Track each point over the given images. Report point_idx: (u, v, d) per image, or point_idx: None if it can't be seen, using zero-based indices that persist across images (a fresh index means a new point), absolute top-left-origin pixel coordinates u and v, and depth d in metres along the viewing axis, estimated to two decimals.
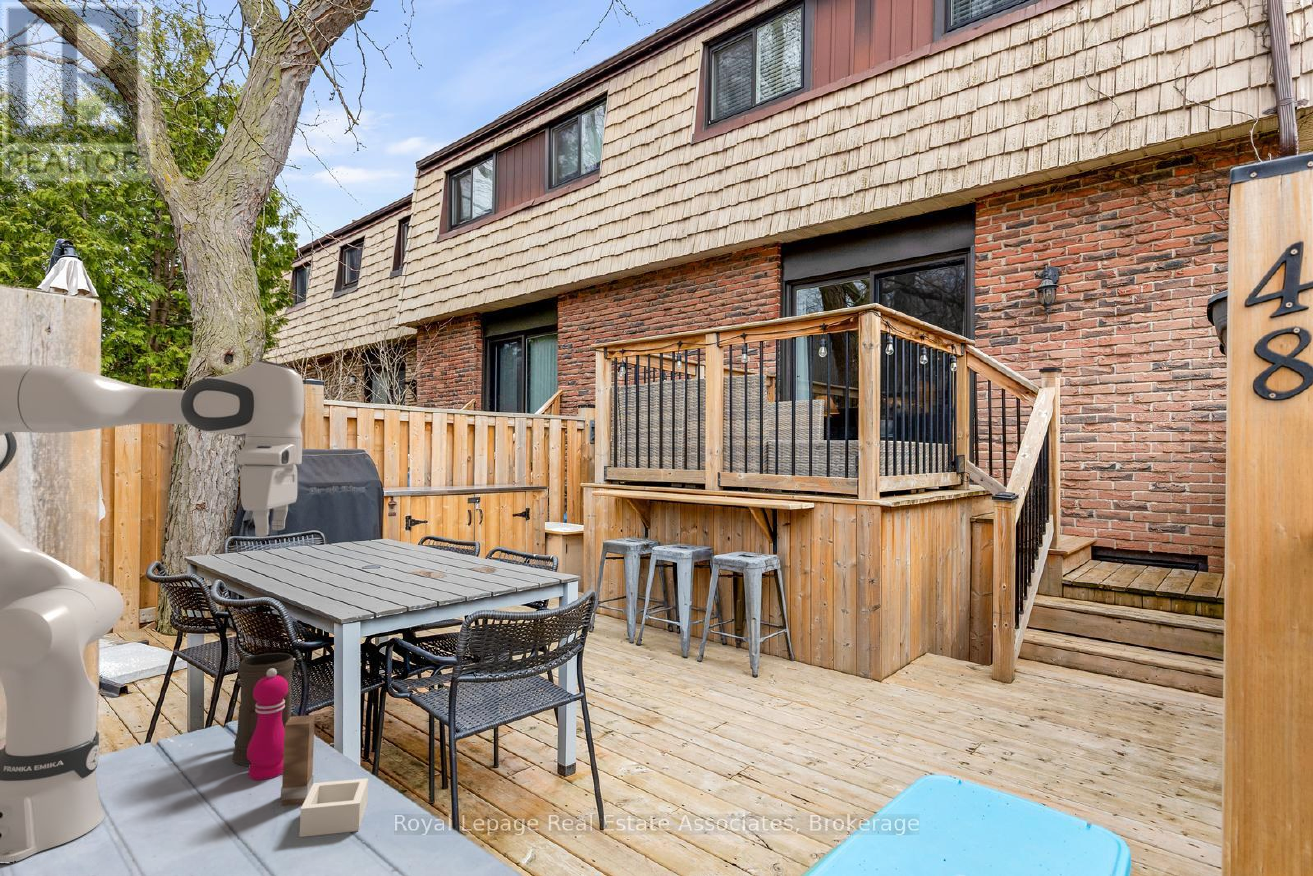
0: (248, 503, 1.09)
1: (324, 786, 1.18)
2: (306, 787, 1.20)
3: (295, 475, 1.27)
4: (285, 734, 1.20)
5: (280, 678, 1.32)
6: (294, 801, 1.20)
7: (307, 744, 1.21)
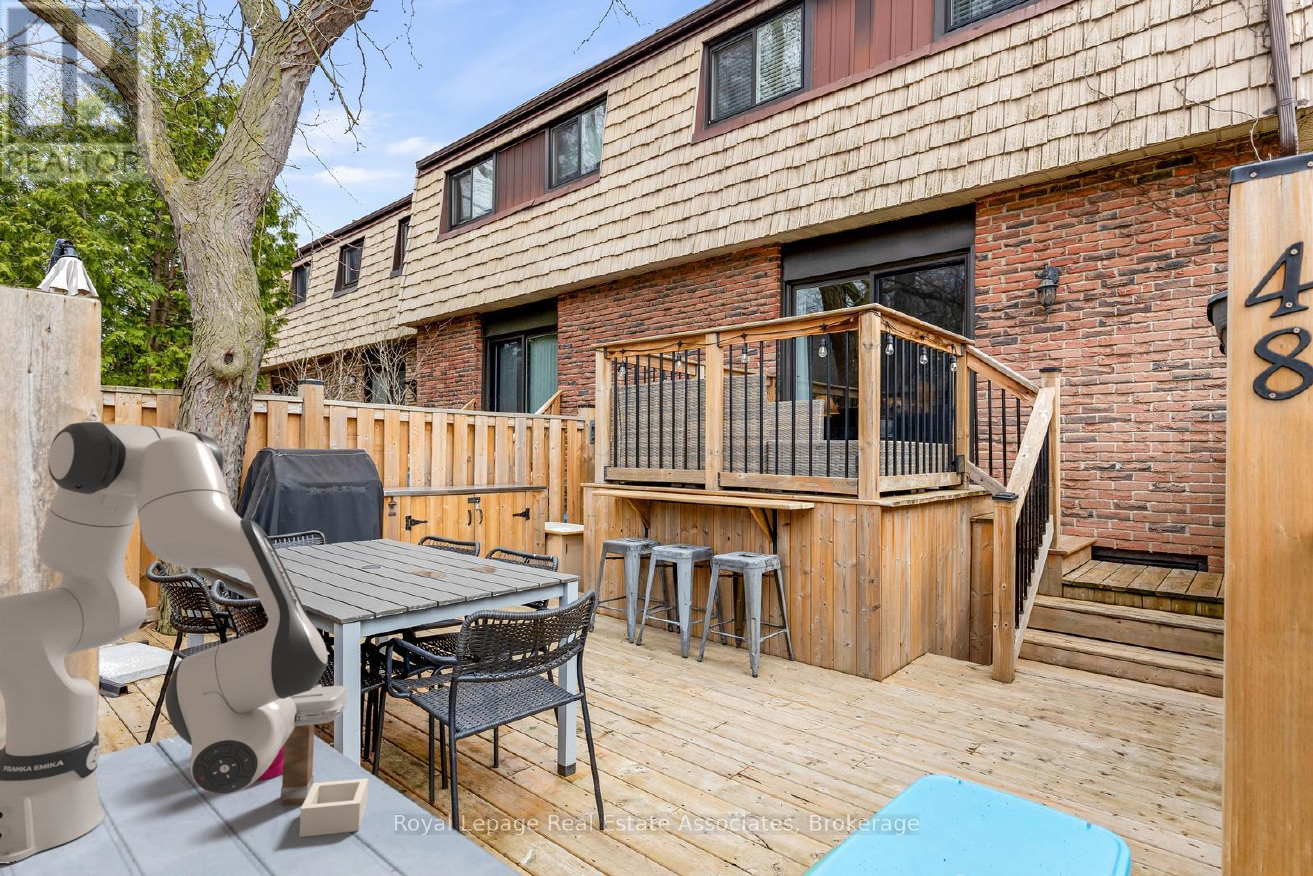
0: None
1: (324, 786, 1.18)
2: (306, 787, 1.20)
3: None
4: None
5: None
6: (294, 801, 1.20)
7: (307, 744, 1.21)
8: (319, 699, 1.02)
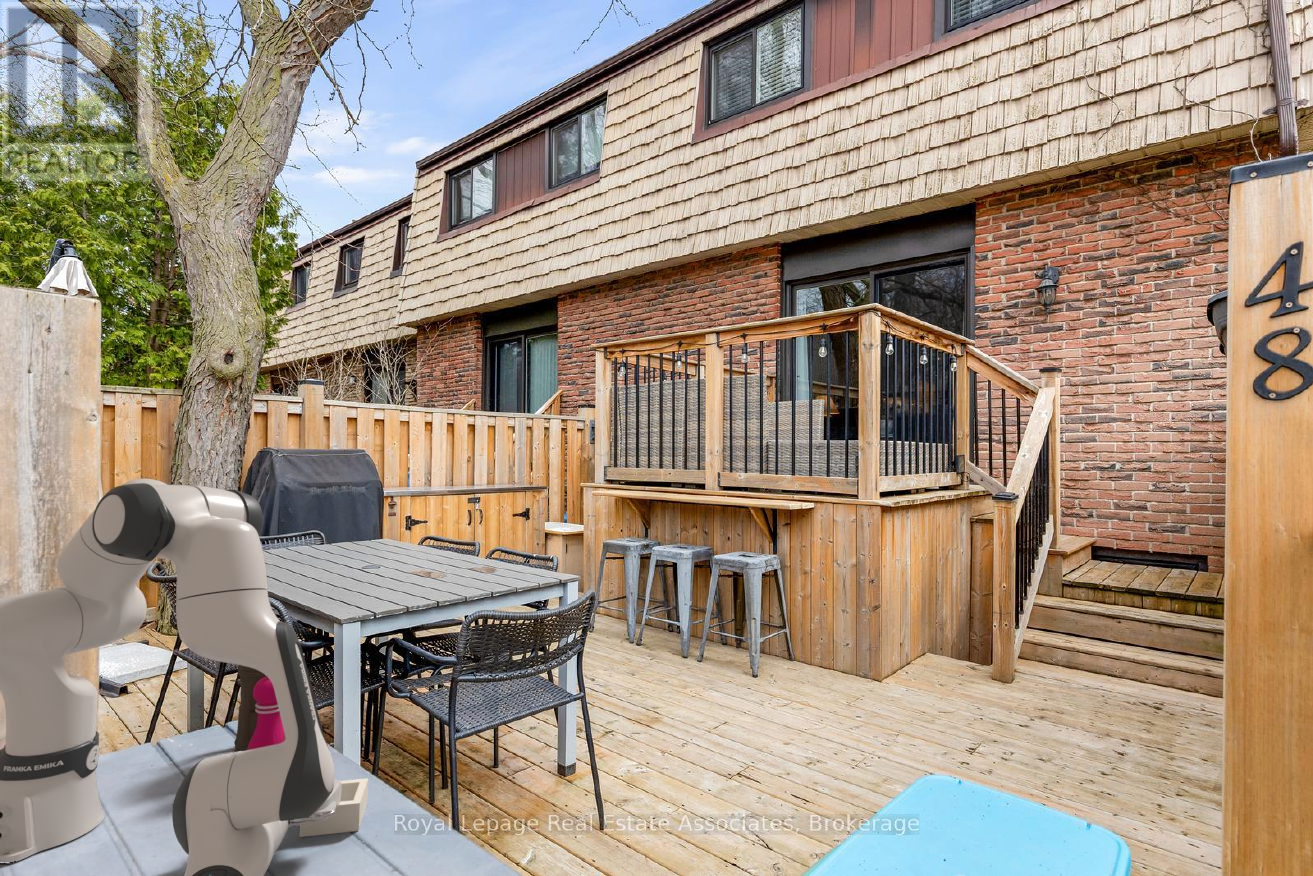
0: None
1: None
2: None
3: None
4: None
5: None
6: None
7: None
8: None
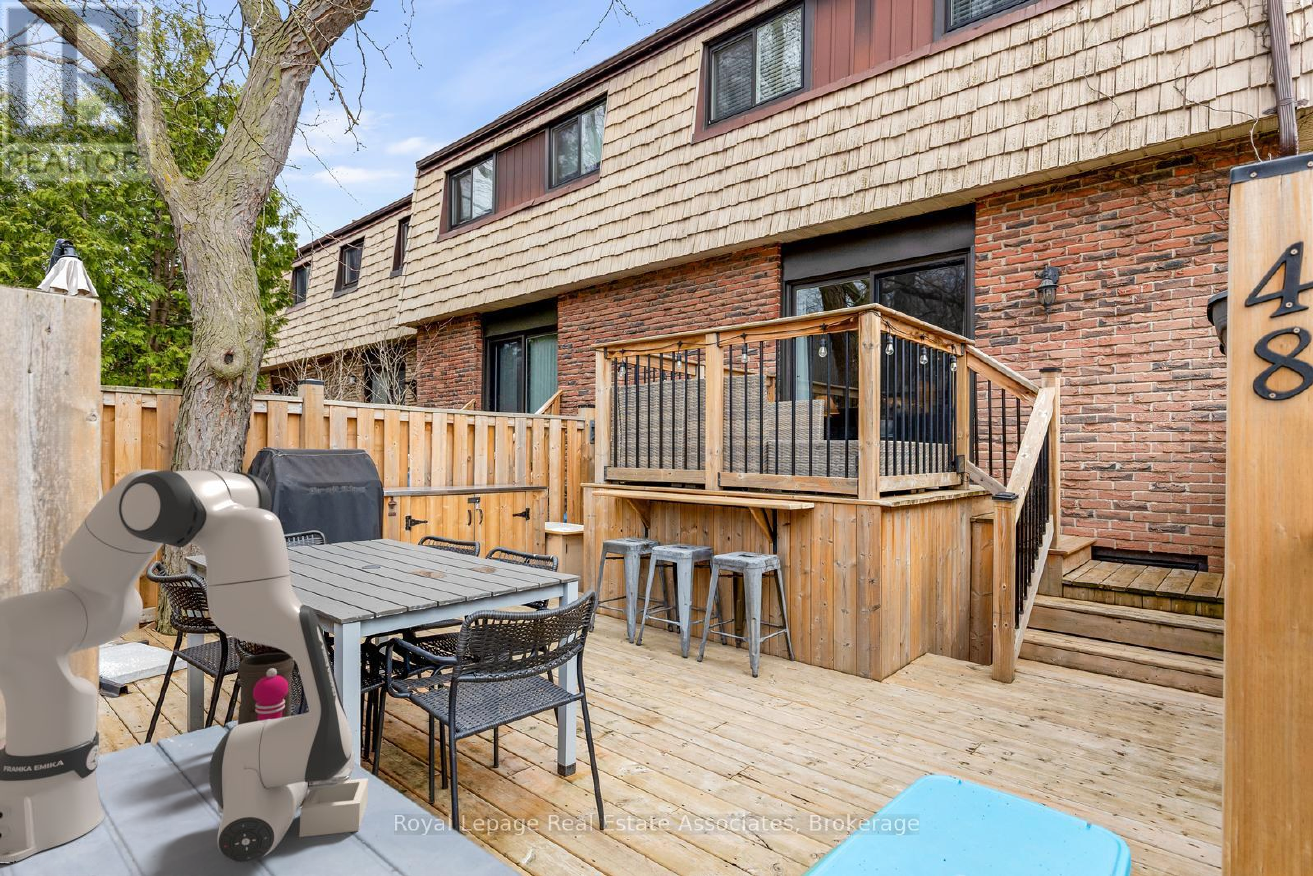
0: None
1: None
2: None
3: None
4: None
5: (280, 678, 1.32)
6: None
7: None
8: None
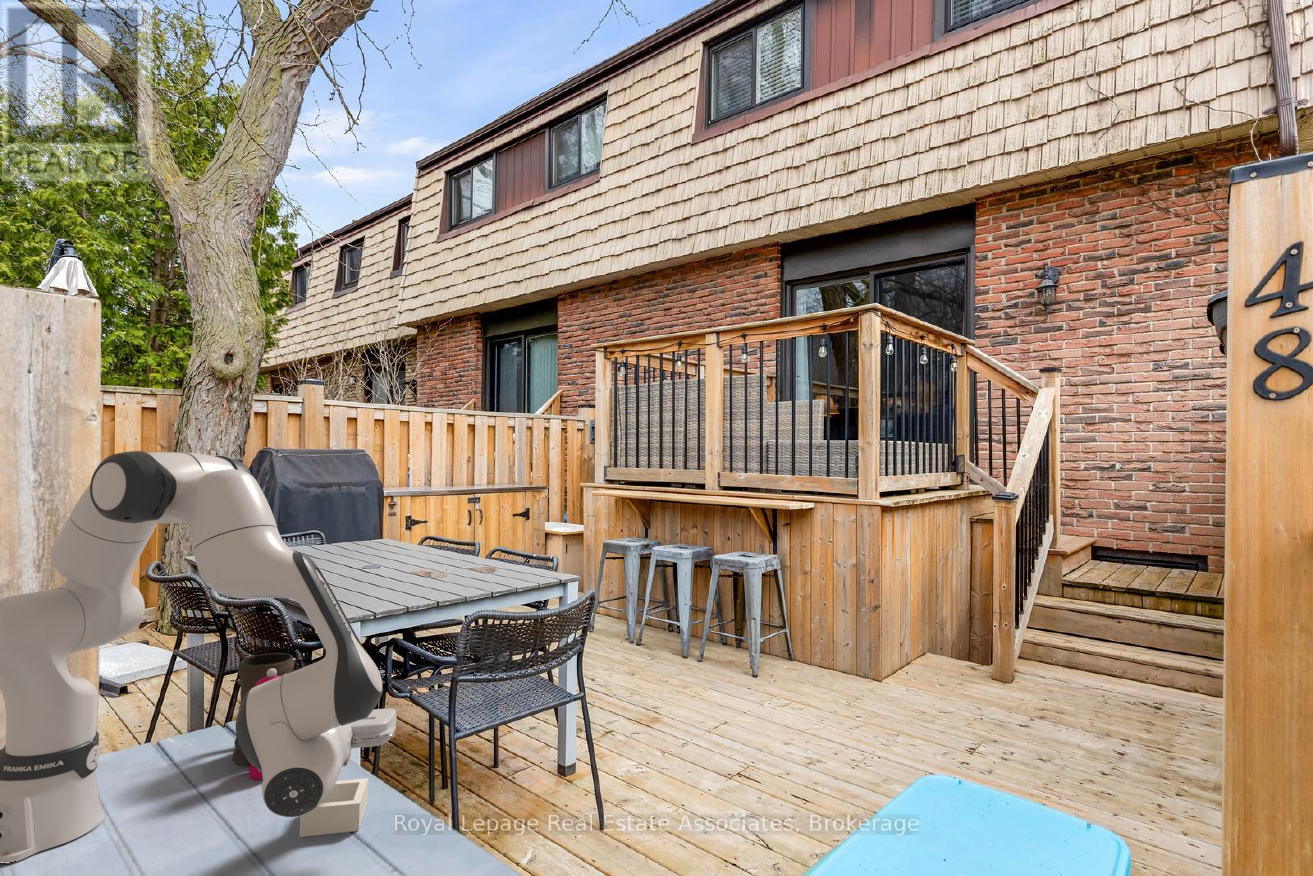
0: None
1: None
2: None
3: None
4: None
5: None
6: None
7: None
8: (372, 723, 1.08)
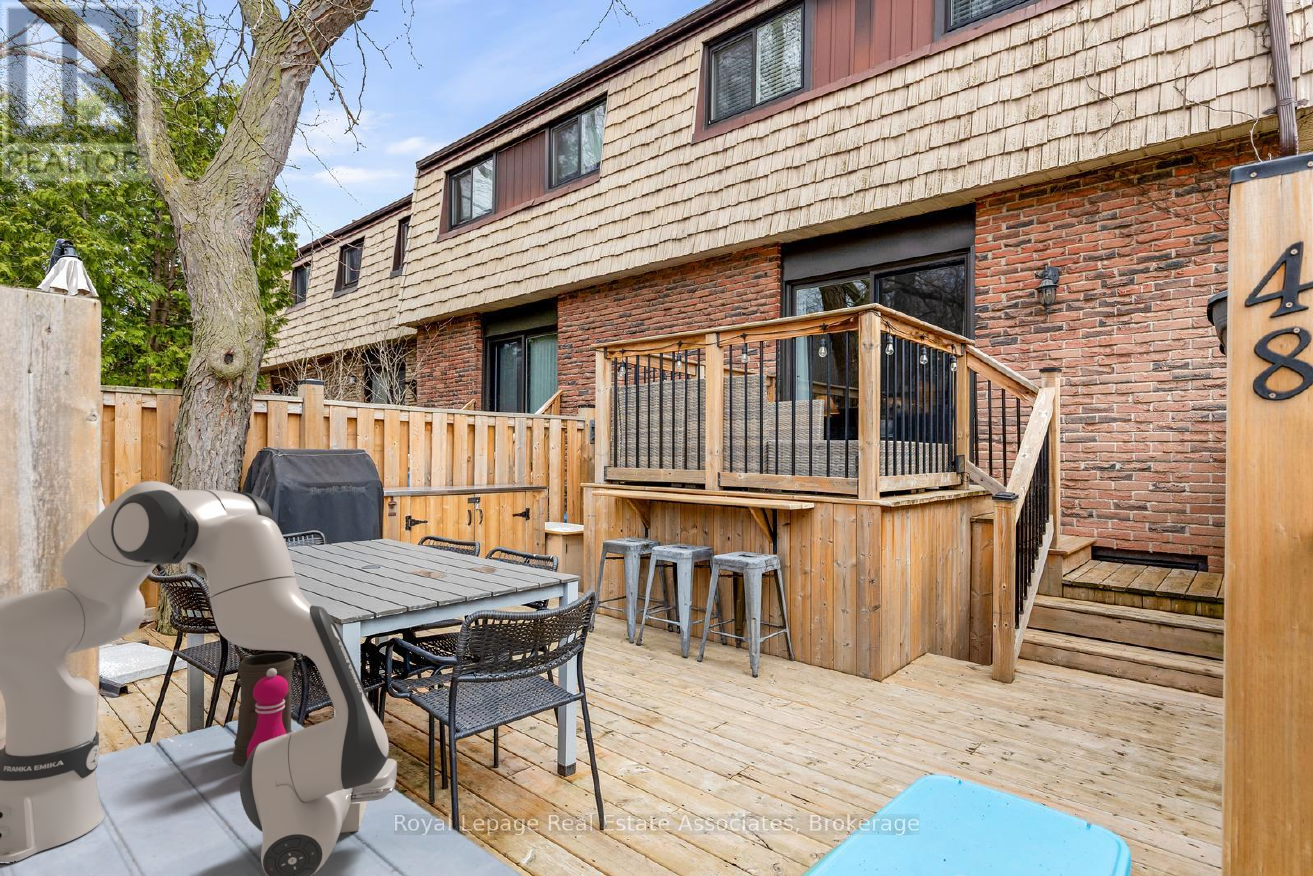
0: None
1: None
2: None
3: None
4: None
5: (280, 678, 1.32)
6: None
7: None
8: None
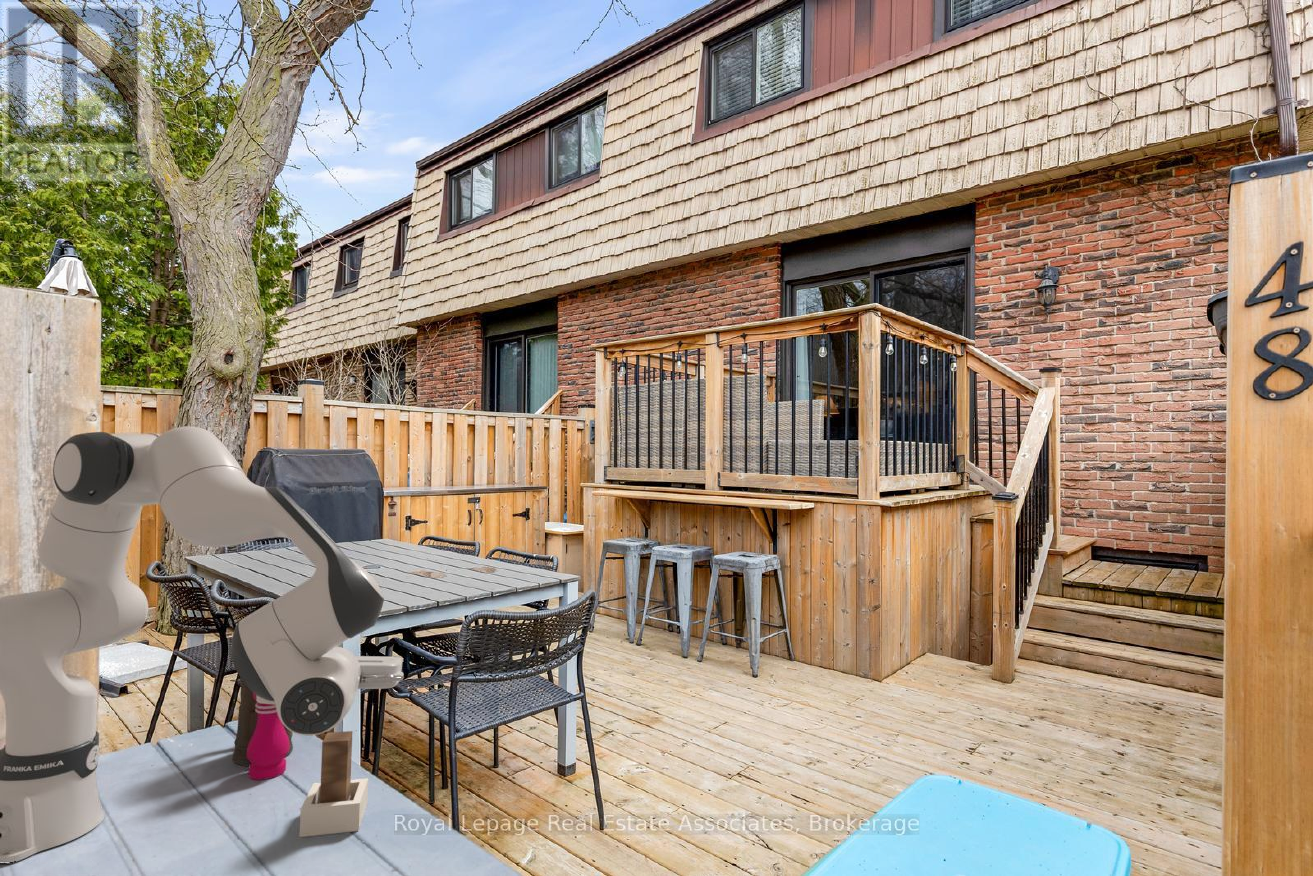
0: None
1: None
2: None
3: None
4: (323, 752, 1.13)
5: None
6: None
7: (346, 762, 1.14)
8: (382, 664, 1.02)
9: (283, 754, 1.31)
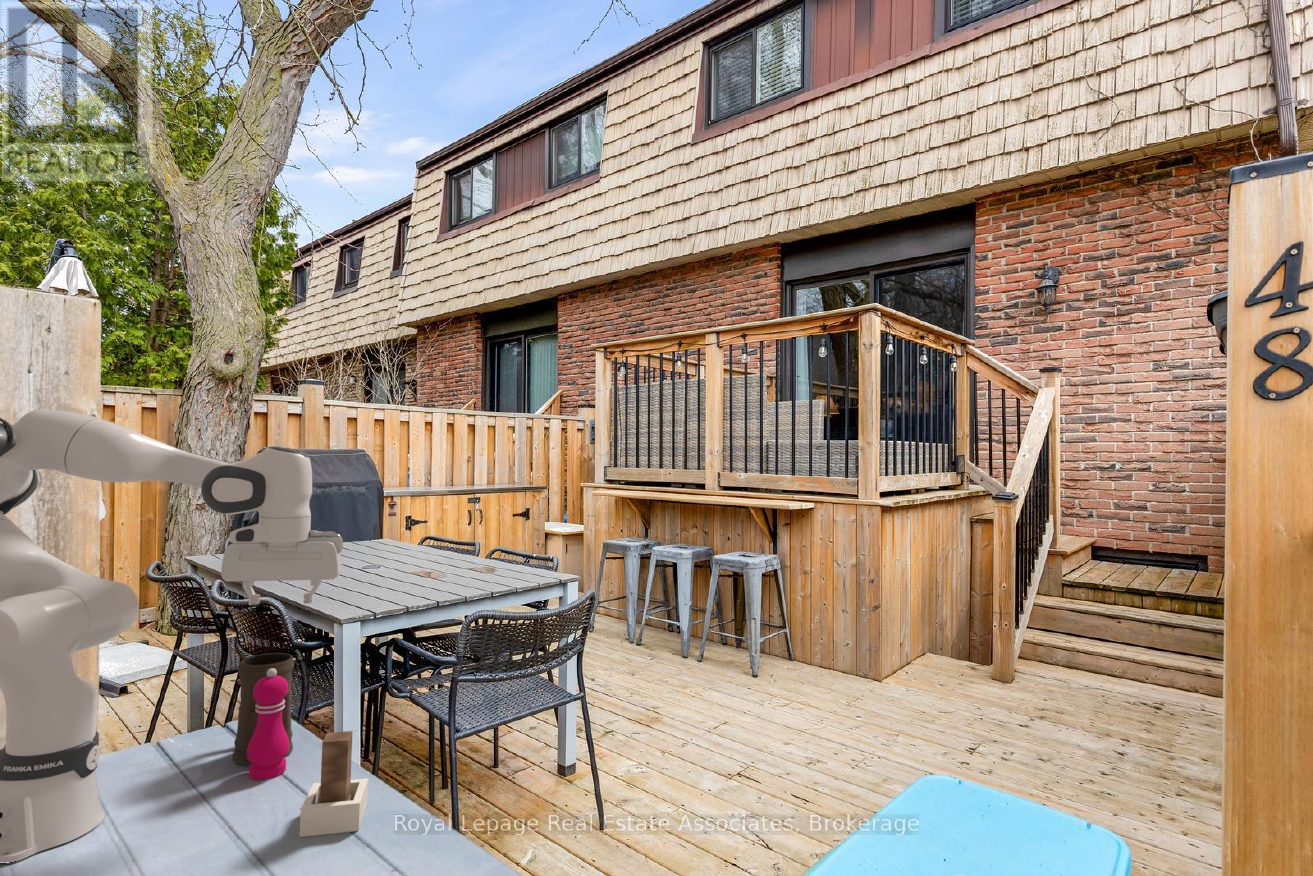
0: None
1: None
2: None
3: (325, 552, 1.31)
4: (323, 752, 1.13)
5: (280, 678, 1.32)
6: None
7: (346, 762, 1.14)
8: None
9: (283, 754, 1.31)
